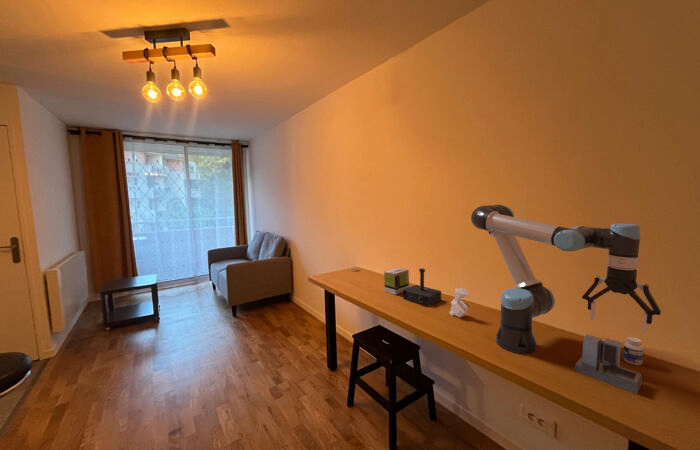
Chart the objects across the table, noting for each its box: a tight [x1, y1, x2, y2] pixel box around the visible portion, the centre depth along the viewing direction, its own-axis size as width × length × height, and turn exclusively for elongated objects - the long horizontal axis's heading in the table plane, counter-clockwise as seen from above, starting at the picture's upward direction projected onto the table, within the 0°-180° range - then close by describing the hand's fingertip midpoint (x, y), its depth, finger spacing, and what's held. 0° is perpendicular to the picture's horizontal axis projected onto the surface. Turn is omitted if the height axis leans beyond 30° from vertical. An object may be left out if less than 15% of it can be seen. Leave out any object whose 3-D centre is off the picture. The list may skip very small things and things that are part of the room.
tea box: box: [383, 267, 410, 296], centre depth 195 cm, size 15×10×15 cm, turn 130°
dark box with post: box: [402, 268, 442, 307], centre depth 176 cm, size 19×17×20 cm
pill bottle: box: [622, 336, 644, 366], centre depth 106 cm, size 5×5×9 cm
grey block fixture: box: [574, 334, 643, 395], centre depth 97 cm, size 16×8×12 cm, turn 36°
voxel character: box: [448, 287, 470, 319], centre depth 151 cm, size 7×12×15 cm
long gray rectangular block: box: [601, 338, 622, 367], centre depth 102 cm, size 5×4×10 cm
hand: (616, 324), depth 101 cm, fingers open, 13 cm apart
